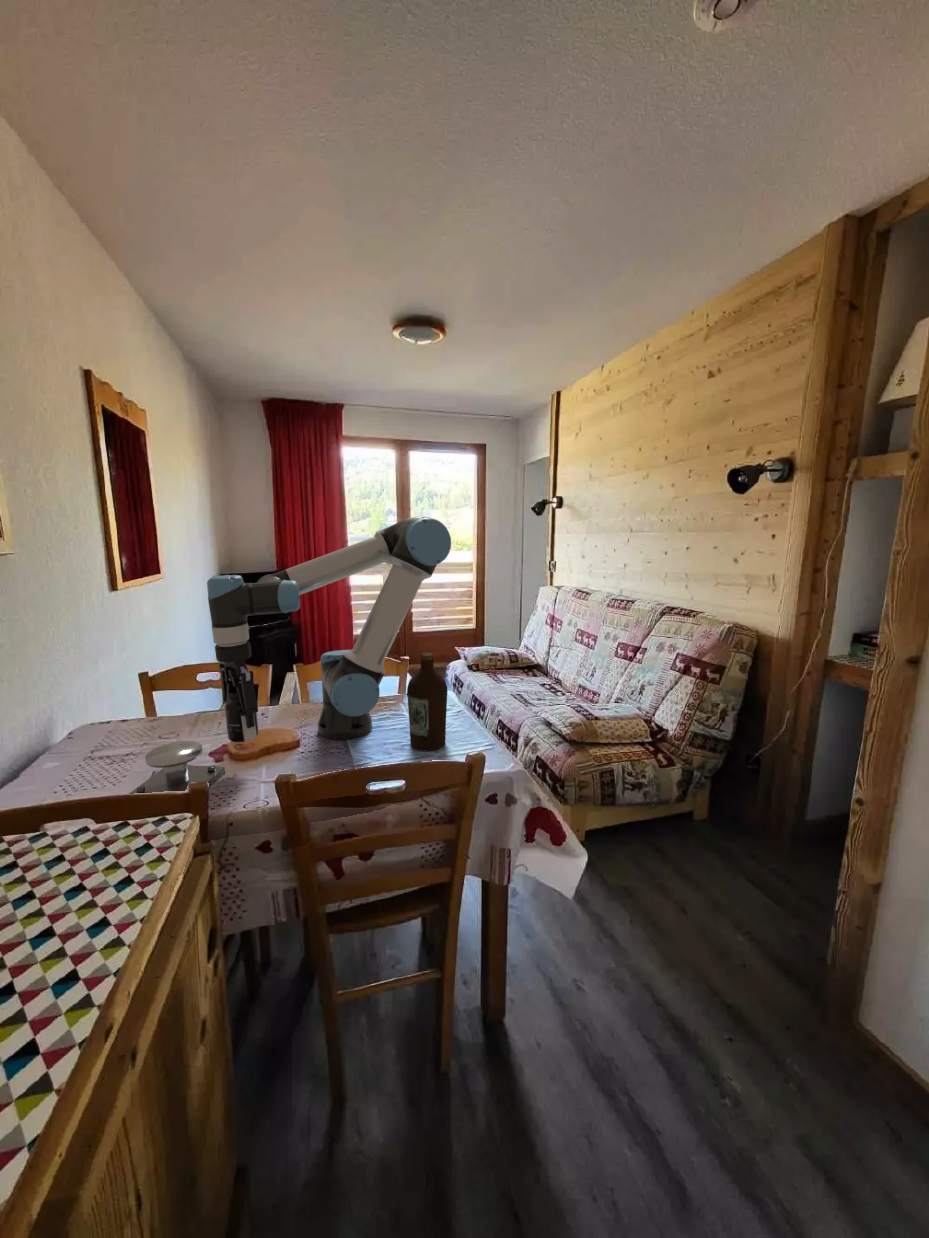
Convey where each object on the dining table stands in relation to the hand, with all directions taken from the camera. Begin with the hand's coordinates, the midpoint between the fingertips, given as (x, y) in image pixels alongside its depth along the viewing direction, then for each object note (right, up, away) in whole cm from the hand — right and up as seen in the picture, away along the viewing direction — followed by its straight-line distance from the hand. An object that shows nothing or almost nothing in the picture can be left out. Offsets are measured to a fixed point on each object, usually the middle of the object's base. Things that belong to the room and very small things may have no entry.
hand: (243, 734), depth 121 cm
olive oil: (+43, -6, +14) cm, 46 cm away
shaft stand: (-11, -10, -8) cm, 17 cm away
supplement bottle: (0, -1, 0) cm, 1 cm away
